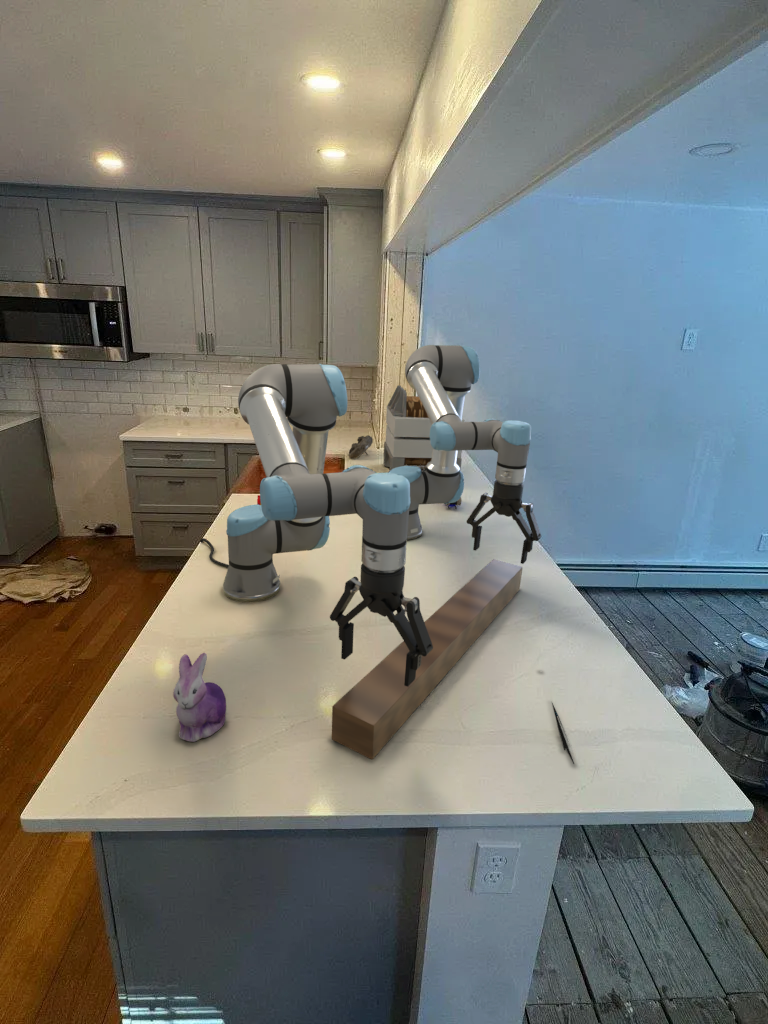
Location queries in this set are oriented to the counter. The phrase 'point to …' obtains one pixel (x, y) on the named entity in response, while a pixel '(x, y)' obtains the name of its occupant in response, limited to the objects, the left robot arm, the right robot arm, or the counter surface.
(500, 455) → the right robot arm
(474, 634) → the long beam
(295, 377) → the left robot arm
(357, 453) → the fossil
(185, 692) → the figurine
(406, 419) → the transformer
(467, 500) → the counter surface
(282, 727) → the counter surface
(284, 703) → the counter surface
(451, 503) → the figurine character
